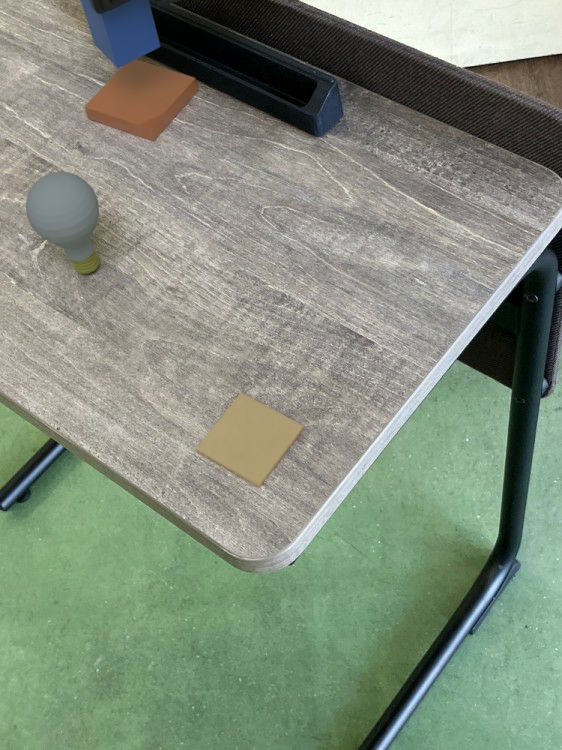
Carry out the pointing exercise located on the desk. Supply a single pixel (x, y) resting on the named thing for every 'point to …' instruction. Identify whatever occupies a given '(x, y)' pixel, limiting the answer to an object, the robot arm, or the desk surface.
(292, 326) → the desk surface
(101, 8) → the robot arm
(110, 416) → the desk surface
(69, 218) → the light bulb
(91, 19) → the block
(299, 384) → the desk surface
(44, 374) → the desk surface
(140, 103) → the orange-brown square slab
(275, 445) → the mat
